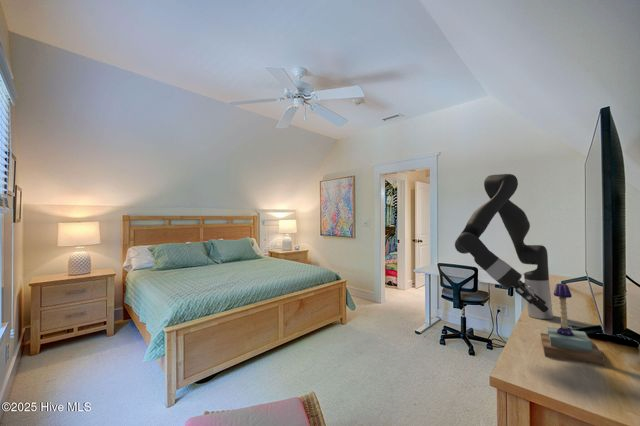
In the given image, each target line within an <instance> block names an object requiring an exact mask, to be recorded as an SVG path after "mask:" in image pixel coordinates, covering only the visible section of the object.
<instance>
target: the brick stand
mask: <svg viewBox="0 0 640 426" xmlns="http://www.w3.org/2000/svg"><path fill="white" fill-rule="evenodd" d="M558 329H559V328H555V327H546V331H547V333H541V332H540V341H541V345H542V349H543V353H544V357H547V358H552V359H553V358H554V359H559V360H564V361H565V360H566V361H571V362H576V363H577V362H578V363H582V364H583V363H584V364H589V365H595V366H600V367H601V366H603V367H605V360H604V355H603V353H602V352H601V351H600V349H599V348H598V346H597V344H596V343H595V341H594V340H593V339H590V338H589V336H588V335H587V333H586V332H585V331H582V330H581V331H580V330H573V329H570V330H571V331H572V332H573V334H574V335H573V336H565V335H561V334H558V333H557V330H558Z"/></svg>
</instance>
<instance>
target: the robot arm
mask: <svg viewBox="0 0 640 426" xmlns="http://www.w3.org/2000/svg"><path fill="white" fill-rule="evenodd" d="M518 181H519V180H518V177H516V175H514V174H511V173H503V174H502V173H501V174H492V175H491V174H490V175H488V176H486V177H485V179H484V182H483V185H484V191H485V192H486V195H487V196H488V198H489V200H488V201H487V202H485V203H484V204H482V205H481V206H479V207H478V208H477V209H476V210H475V211H474V212H472V215H471V216H470V217H469V220H467V223H466V225H465V227H464V229H463V230H462V231H461V233H460V234H459V235H458V236H457V238H456V240H455V242H454V248H455V249H456V251H457V252H458V253H460V254H463V255H465V254H470V255H471V256H472V257H473V258H474V259H473V260H474V262H475V263H476V264H477V266H479V267H480V268H481V269H482V270H483V271H485V272H486V273H487V274H488V275H489V276H490V278H492V279H493V280H494V281H495V282H497V283H498V284H499V285H500V286H502V287H503V288H504V289H506V290H509V289H511V288H514V291H515V292H516V294H517V295H519V296H521V297H522V298H523V299H524V300H525V301H526V306H527V315H528V317H531V318H534V319H540V320H552V319H553V318H554V312H553V301H552V296H551V295H552V293H551V287H550V286H551V285H550V277H549V275H550V271H549V260H548V259H549V258H548V256H549V255H548V250H547V248H546V247H545V246H544V245H543V244H532V245H531V244H526V243H525V242H524V241H525V238H526V237H527V235H528V233H529V231H530V229H531V223H530V221H529V218H528V216H527V214H526V213H525V211H524V210H523V209H522V208H521V207H519V206H518V205H517V204H515V203H514V202H513V201H511V200H510V198H511V197H512V196H513V195H514V194H515V192H516V191H517V190H518V186H519V182H518ZM496 214H499V216H500V219H501V221H502V223H503V225H504V228H505V229H506V231H507V233H508V236H509V237H510V239H511V241H512V245H513V247H514V250H515V252H516V253H515V254H516V255H517V258H518V260H519V262H520V263H522V264H524V265H534V266H535V265H536V268H535V269H533V270H530V271H529V270H528V271H526V272H524V273H523V276H522V274H521V273H520V272H518V270H516V269H515V268H514V267H512V266H511V265H510V264H508V263H507V262H505V261H504V260H502V258H500V257H499V256H497V255H496V254H495V253H493V251H491V250H489V249H488V247H487V246H486V245H485V243H483V241H482V240H481V239H480V237H481V236H482V234H483V233H484V232H485V231H486V230H487V228H488V226H490V225H489V224H490V223H491V221H492V219H493V218H494V217H495V215H496ZM522 277H523V278H524V282H523V281H522V280H521V279H522Z"/></svg>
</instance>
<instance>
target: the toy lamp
mask: <svg viewBox="0 0 640 426" xmlns="http://www.w3.org/2000/svg"><path fill="white" fill-rule="evenodd" d="M554 287H555V288H554V291H553V296H554V297H556V298H557V297H558V299H559V309H560V310H559V311H560V323H561V324H560V327H558V328H557V329H558V330H557V333H558V334H561V335H565V336H573V335H574V334H573V332H572V331H571V330H572V329H570V328H569V326H568V323H569V322H568V311H567V309H568V308H567V298H568V299H569V298H572V297H573V295H572V292H571V291H570V288H569V285H568V284H565V283H556V284H555V286H554Z"/></svg>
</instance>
